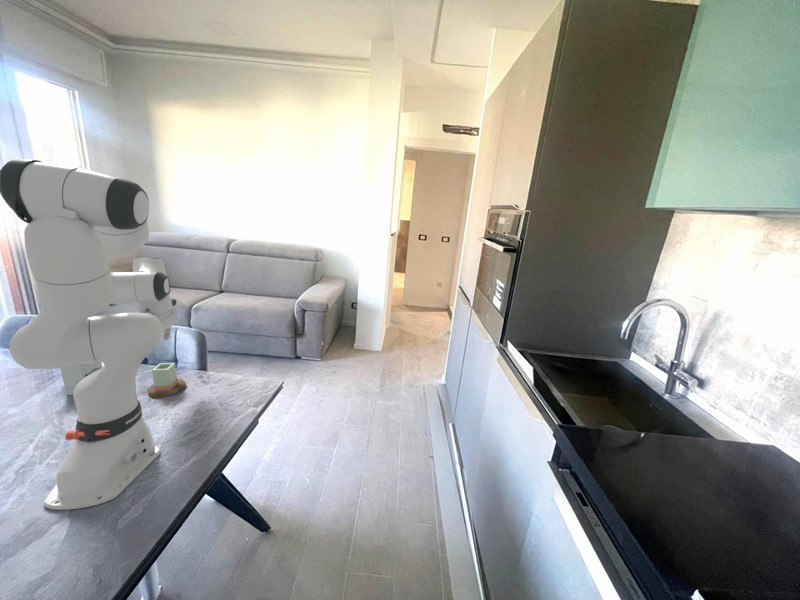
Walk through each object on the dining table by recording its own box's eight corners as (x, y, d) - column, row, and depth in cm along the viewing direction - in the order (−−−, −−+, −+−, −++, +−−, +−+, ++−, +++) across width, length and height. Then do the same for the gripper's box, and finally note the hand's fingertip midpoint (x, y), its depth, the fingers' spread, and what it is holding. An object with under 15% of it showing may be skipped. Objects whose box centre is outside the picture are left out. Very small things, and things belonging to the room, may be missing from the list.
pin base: (177, 397, 111) (175, 381, 109) (141, 398, 108) (138, 382, 107) (190, 381, 121) (189, 366, 119) (158, 382, 119) (155, 367, 117)
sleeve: (171, 390, 112) (168, 369, 110) (154, 390, 111) (150, 370, 109) (178, 382, 117) (175, 362, 115) (162, 383, 116) (159, 363, 114)
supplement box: (87, 396, 108) (79, 362, 105) (65, 395, 108) (57, 361, 105) (107, 385, 115) (100, 353, 112) (86, 384, 115) (79, 352, 112)
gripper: (147, 314, 97) (154, 356, 101) (179, 298, 117) (183, 333, 120) (124, 314, 96) (131, 356, 99) (159, 298, 115) (164, 334, 119)
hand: (160, 344), depth 110 cm, fingers open, 8 cm apart
